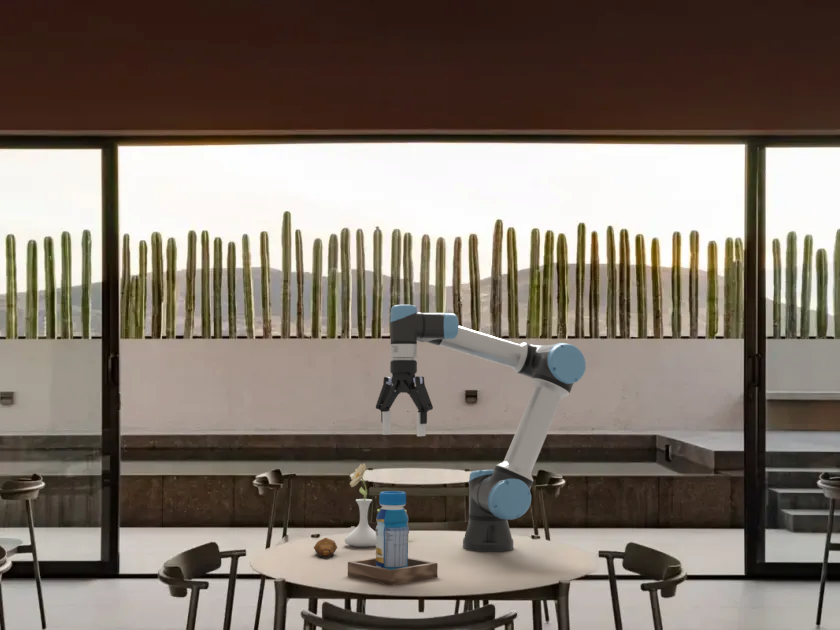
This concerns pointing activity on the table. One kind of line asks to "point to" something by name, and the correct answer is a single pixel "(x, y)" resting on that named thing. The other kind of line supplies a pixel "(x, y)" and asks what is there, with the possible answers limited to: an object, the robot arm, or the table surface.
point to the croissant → (325, 547)
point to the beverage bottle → (392, 531)
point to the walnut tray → (392, 571)
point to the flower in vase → (361, 516)
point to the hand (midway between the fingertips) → (403, 435)
